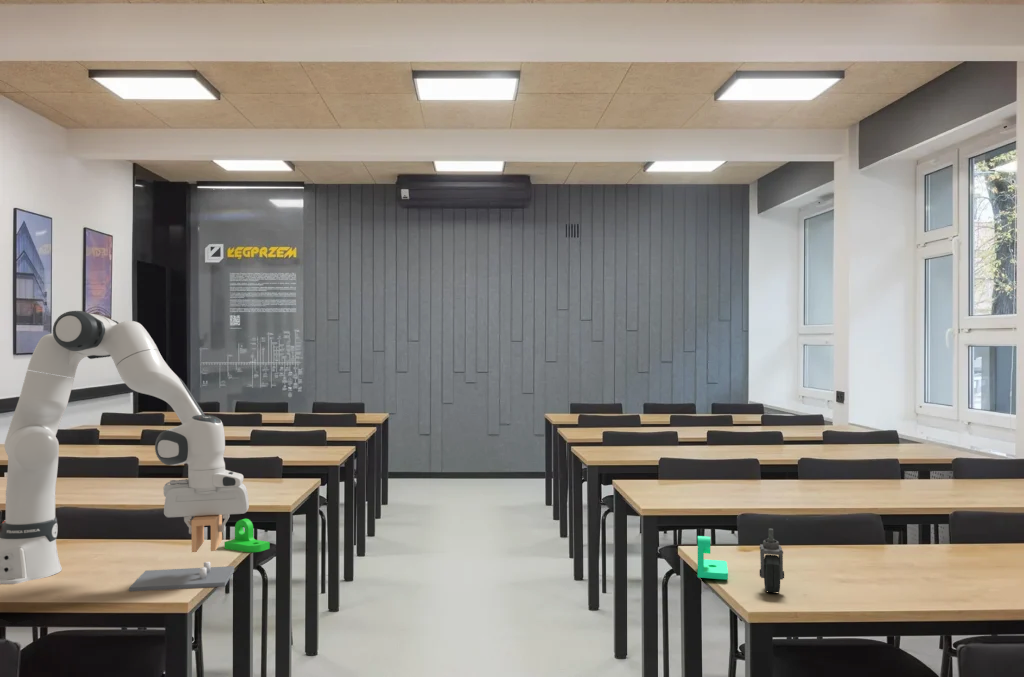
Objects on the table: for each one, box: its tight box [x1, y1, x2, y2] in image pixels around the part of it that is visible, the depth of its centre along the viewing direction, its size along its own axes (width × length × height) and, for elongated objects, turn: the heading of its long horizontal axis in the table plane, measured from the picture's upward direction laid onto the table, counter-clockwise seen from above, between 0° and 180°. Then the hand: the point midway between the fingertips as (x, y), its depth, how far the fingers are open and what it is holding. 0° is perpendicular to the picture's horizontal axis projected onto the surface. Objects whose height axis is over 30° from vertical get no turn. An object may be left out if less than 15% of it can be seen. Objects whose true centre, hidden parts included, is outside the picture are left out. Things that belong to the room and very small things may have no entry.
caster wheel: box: [759, 528, 785, 593], centre depth 185 cm, size 6×10×15 cm, turn 165°
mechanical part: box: [223, 518, 270, 553], centre depth 224 cm, size 12×6×8 cm, turn 64°
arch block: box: [190, 515, 223, 553], centre depth 193 cm, size 6×10×8 cm, turn 12°
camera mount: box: [697, 535, 729, 580], centre depth 199 cm, size 12×8×10 cm, turn 166°
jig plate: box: [128, 561, 235, 592], centre depth 191 cm, size 22×14×4 cm, turn 101°
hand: (207, 532), depth 193 cm, fingers closed on arch block, 6 cm apart
